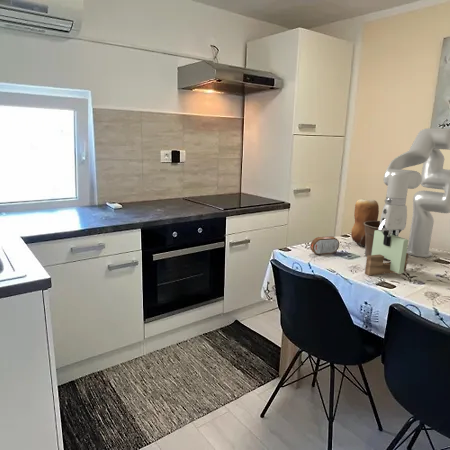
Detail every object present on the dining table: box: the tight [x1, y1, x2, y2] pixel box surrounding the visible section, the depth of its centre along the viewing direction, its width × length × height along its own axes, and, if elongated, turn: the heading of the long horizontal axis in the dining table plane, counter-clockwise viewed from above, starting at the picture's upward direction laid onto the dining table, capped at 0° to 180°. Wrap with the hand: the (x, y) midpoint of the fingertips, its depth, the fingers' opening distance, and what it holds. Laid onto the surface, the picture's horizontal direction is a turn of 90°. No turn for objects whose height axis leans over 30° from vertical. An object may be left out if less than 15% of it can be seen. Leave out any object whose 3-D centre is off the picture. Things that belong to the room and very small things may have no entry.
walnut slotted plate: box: [364, 253, 409, 277], centre depth 157 cm, size 2×20×8 cm, turn 111°
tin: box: [310, 235, 340, 255], centre depth 180 cm, size 15×3×8 cm, turn 108°
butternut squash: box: [350, 198, 380, 247], centre depth 194 cm, size 14×13×25 cm
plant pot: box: [364, 220, 392, 261], centre depth 177 cm, size 16×16×16 cm
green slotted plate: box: [371, 230, 409, 275], centre depth 156 cm, size 16×2×14 cm, turn 21°
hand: (389, 244), depth 155 cm, fingers closed on green slotted plate, 2 cm apart
